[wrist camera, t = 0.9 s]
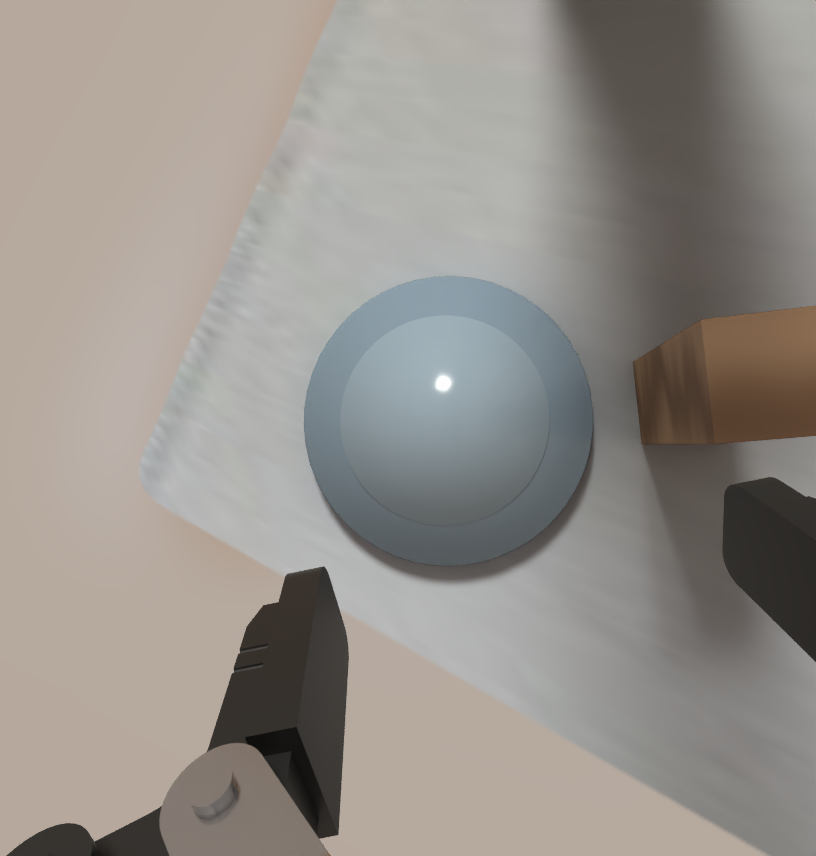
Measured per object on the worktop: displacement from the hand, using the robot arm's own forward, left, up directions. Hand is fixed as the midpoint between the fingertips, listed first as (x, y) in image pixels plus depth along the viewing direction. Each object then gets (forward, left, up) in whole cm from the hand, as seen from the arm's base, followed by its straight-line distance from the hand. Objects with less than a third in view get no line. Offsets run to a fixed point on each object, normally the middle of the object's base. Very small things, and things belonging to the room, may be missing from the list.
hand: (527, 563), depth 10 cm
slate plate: (-2, -5, -23) cm, 23 cm away
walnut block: (-8, +8, -23) cm, 25 cm away
